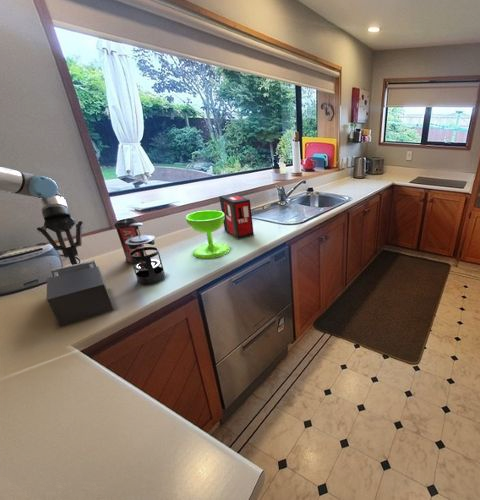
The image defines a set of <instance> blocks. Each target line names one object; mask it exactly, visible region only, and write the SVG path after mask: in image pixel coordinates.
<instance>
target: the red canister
mask: <svg viewBox="0 0 480 500" xmlns="http://www.w3.org/2000/svg"><path fill="white" fill-rule="evenodd" d="M133 223H138V221H137V220H135V219H134V218H124V219H119V220H117V221H116V222H115V223H114V227H115V229H116V232H117V235H118V238H119V241H120V244H121V247H122V250H123V253H124V256H125V261H126V262H127V263H131V264H132V261H133V264H138V263H140V262H142V260H133V259H132V261H131V258H130V255H129V253H130V252H131V251H133V250H136V249H138V247H142V246H141V245H139V246H138V247H136V248H135V249H130V248H129V247H128V245H127V244H126V243H125V242H126V240H128V239H130V238H132V237H136V236H138V232H137V229H135V227H129V225H130V224H133ZM138 231H139V235H140V236H142V234H141V232H140V228H139V229H138ZM142 245H143V247H145V244H142ZM145 252H146V255H148V254H147V250H145ZM132 256H135V257H139V256H140V253H139V252H137V253H135V254H133V255H132Z"/></svg>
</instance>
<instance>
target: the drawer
mask: <svg viewBox="0 0 480 500" xmlns="http://www.w3.org/2000/svg"><path fill="white" fill-rule="evenodd" d="M93 267H97V263H96V261H95V259H93V260H88V261H83V262H80V263H79V262H78V263H77V264H74V265H72V264H69V265H66V266H61V267H56V268H52V269H50V274H51V276H52V277H55V276H59V275H63V274H67V273H72V272H76V271H80V270H85V269H89V268H93Z"/></svg>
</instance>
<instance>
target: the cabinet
mask: <svg viewBox="0 0 480 500" xmlns="http://www.w3.org/2000/svg"><path fill="white" fill-rule="evenodd" d="M96 266H97V265H96ZM46 301H47V303H48V305H49V307H50V309H51V312H52V313H53V315H54V317H55V320H56V321H57V324H58V325H59V327H63V326H67V325H70V324H73V323H76V322H79V321H83V320H85V319H88V318H92V317H94V316H98V315H102V314H105V313H107V312H111V311H113V310H115V309H114V306H113V303H112V299H111V297H110V293H109V290H108V288H107V286H106V283H105V280H104V278H103V274H102V272H101V270H100V267H99V266H97V267H93V268H89V269H85V270H80V271H76V272H72V273H67V274H63V275H59V276H55V277H53V276H50V277H47V278H46Z"/></svg>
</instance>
